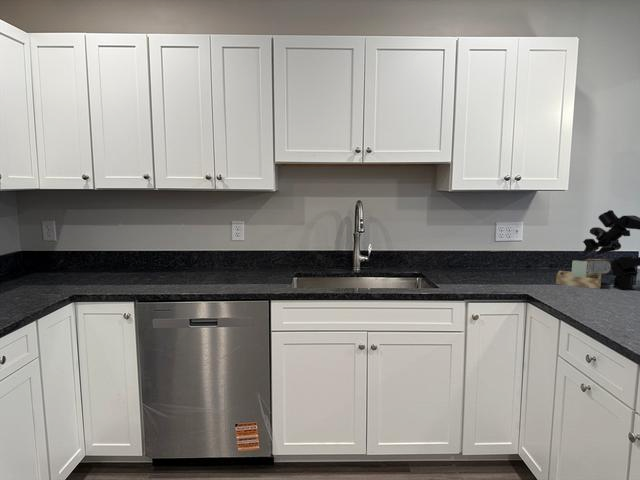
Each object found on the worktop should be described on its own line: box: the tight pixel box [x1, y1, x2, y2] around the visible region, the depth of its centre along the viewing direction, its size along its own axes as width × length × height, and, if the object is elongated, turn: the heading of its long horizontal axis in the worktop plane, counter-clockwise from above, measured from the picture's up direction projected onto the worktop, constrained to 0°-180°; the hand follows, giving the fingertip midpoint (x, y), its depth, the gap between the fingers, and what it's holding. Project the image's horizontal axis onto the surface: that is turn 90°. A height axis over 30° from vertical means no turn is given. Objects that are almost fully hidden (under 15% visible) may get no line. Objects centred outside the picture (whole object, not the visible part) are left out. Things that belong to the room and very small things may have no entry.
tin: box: [584, 258, 612, 275], centre depth 228 cm, size 15×3×8 cm, turn 84°
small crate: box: [571, 260, 587, 278], centre depth 203 cm, size 6×6×10 cm
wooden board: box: [555, 270, 602, 290], centre depth 203 cm, size 18×14×4 cm
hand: (590, 254), depth 209 cm, fingers open, 9 cm apart
